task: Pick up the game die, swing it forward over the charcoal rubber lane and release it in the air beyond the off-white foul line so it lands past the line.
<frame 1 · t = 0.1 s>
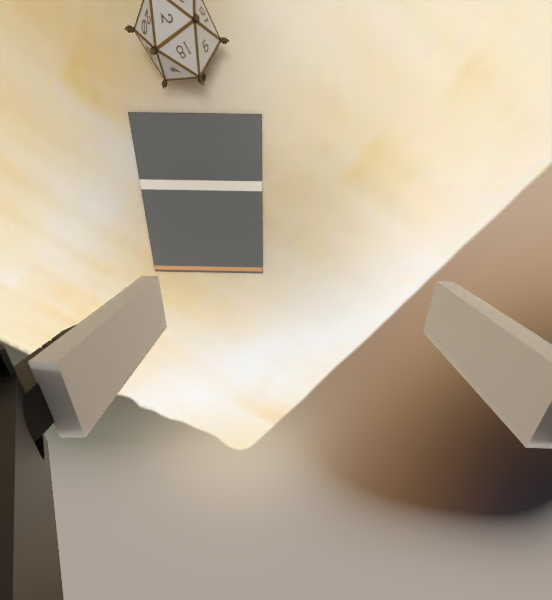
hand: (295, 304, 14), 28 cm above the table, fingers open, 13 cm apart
game die: (190, 51, 32), on the table
lane mat: (203, 201, 38), on the table
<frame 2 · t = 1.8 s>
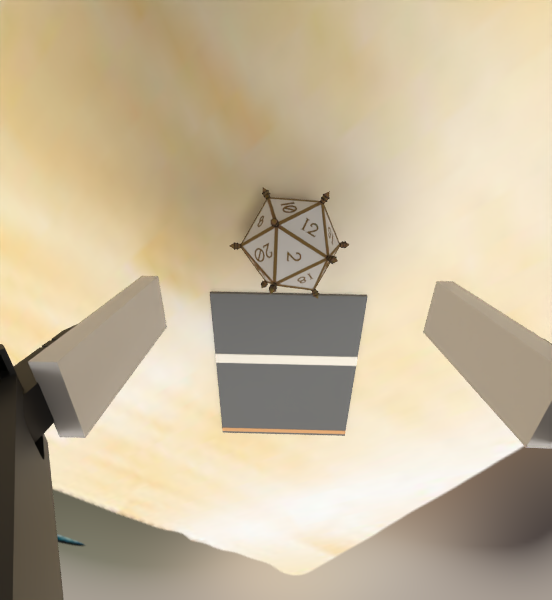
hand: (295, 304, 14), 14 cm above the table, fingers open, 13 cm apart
game die: (290, 234, 27), on the table
lane mat: (285, 371, 33), on the table
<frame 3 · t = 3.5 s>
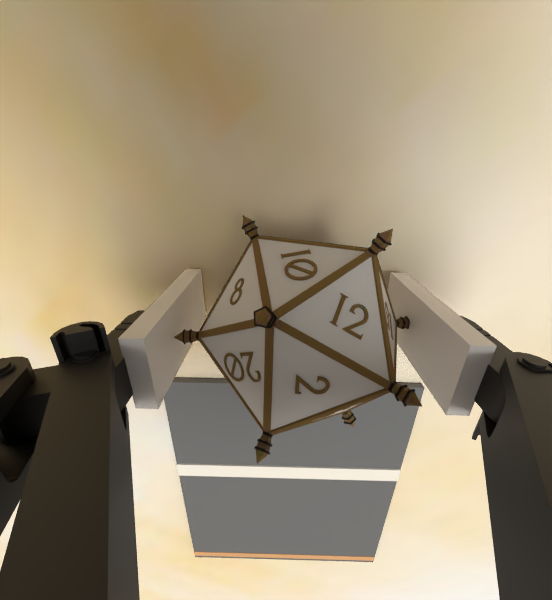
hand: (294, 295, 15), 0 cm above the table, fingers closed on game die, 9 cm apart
game die: (297, 289, 15), on the table, touching gripper
lane mat: (286, 483, 22), on the table
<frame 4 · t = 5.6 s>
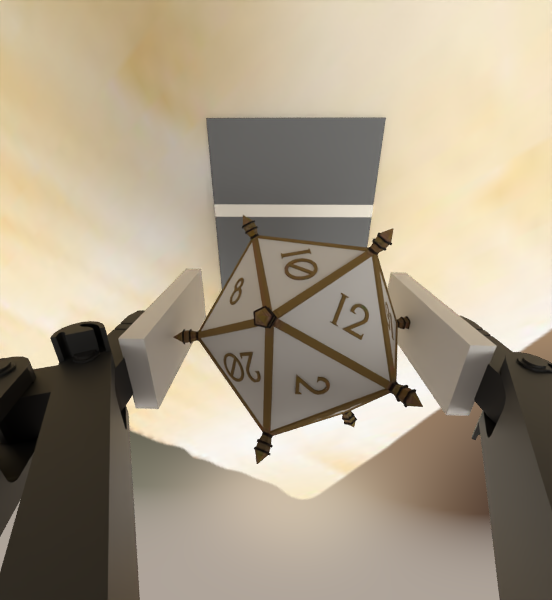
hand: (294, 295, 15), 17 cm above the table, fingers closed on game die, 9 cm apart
game die: (297, 289, 15), point 16 cm above the table, touching gripper
lane mat: (292, 229, 30), on the table
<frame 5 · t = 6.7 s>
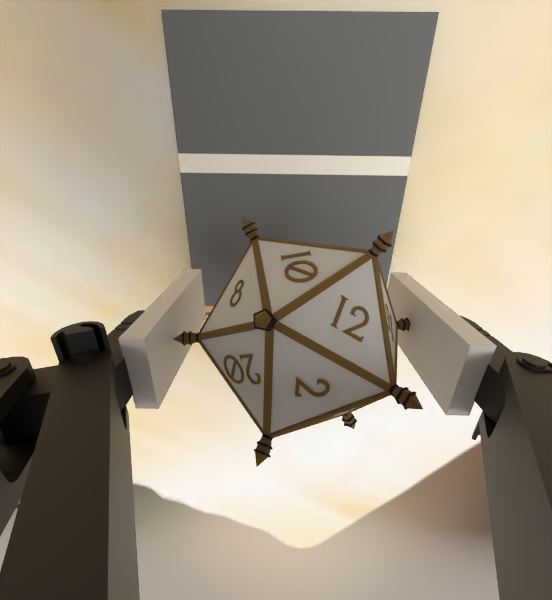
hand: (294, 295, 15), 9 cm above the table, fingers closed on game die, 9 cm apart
game die: (297, 291, 15), point 8 cm above the table, touching gripper
lane mat: (292, 194, 21), on the table
when the fingers open (4 cm above the table, at t = 7.8 s): game die drops 3 cm, resting on lane mat.
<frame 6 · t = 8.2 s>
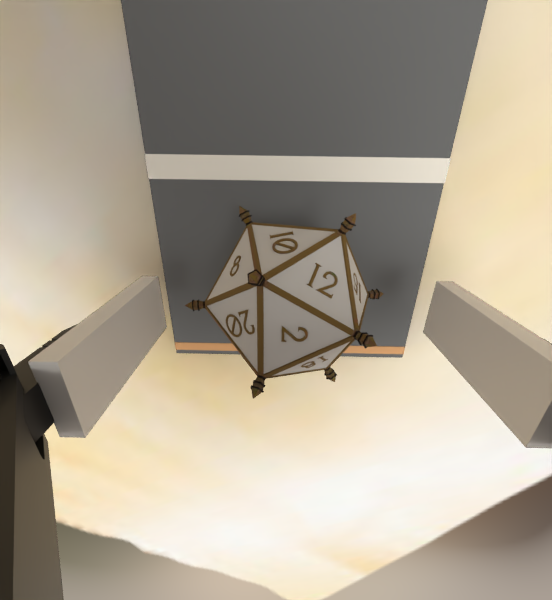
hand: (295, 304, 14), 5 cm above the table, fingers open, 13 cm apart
game die: (288, 271, 18), resting on lane mat
lane mat: (294, 207, 16), on the table
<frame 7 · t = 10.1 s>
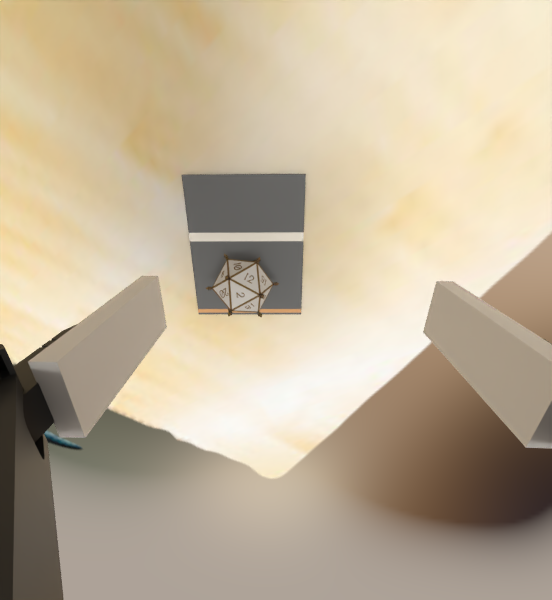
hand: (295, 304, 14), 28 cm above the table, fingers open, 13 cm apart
game die: (246, 276, 42), resting on lane mat
lane mat: (247, 250, 41), on the table
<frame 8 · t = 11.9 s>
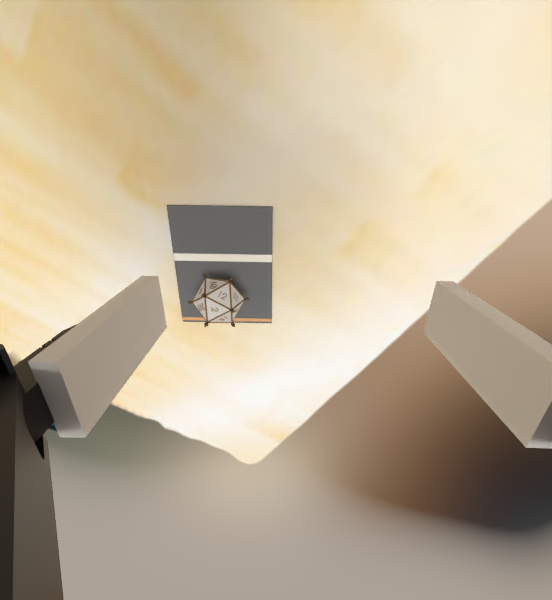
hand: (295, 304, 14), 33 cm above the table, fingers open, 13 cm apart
game die: (223, 290, 49), resting on lane mat
lane mat: (224, 268, 47), on the table
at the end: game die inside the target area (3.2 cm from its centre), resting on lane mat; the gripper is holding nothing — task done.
